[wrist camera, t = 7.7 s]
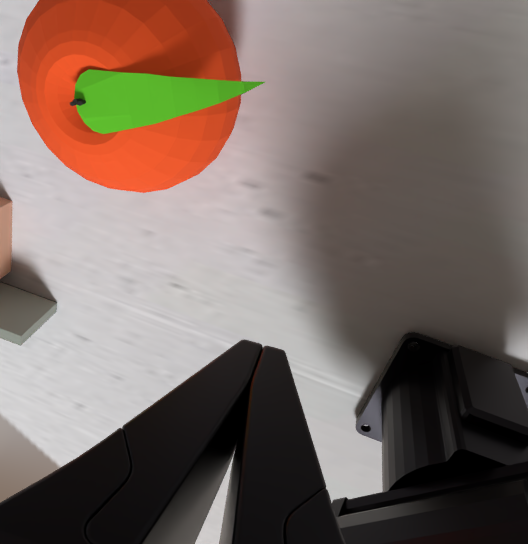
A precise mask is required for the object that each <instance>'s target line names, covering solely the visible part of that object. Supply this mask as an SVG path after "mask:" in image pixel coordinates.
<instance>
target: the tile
mask: <svg viewBox="0 0 528 544" xmlns="http://www.w3.org/2000/svg"><path fill="white" fill-rule="evenodd" d="M11 251H12V201H10V200H8V199H5V198H2V197H0V279H1V278H2V277H4V276H5V275H6V274H8V273H9V272H10V271H11Z"/></svg>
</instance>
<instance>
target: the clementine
mask: <svg viewBox="0 0 528 544" xmlns="http://www.w3.org/2000/svg"><path fill="white" fill-rule="evenodd" d="M17 73H18V78H19V84H20V90H21V95H22V100H23V102H24V105H25V107H26V110H27V112H28V115H29V117H30V119H31V122H32V124H33V126H34V127H35V129H36V130H37V132H38V134H39V135H40V137H41V138H42V140H43V141H44V143H45V144H46V146H47V147H48V148H49V149H50V150H51V151H52V152H53V153H54V154H55V155H56V156H57V157H58V158H59V159H60V160H61V161H62V162H63V163H64V164H65V165H66V166H67V167H68V168H70V169H71V170H73V171H74V172H76V173H77V174H79V175H80V176H82V177H83V178H85V179H86V180H89V181H92V182H94V183H97V184H100V185H102V186H105V187H107V188H112V189H118V190H126V191H135V192H143V193H145V192H151V191H157V190H164V189H168V188H170V187H172V186H175V185H177V184H179V183H181V182H183V181H185V180H187V179H189V178H191V177H193V176H196V175H198V174H199V173H200V172H201V171H203V170H204V169H205V168H206V167H207V166H208V165H209V164H210V163H211V162H212V161H213V160H215V159H216V158H217V156H218V155H219V153H220V151H221V150H222V148H223V146H224V145H225V143H226V141H227V140H228V138H229V136H230V134H231V132H232V130H233V128H234V125H235V121H236V118H237V114H238V110H239V107H240V103H241V94H243V93H245V92H247V91H249V90H251V89H253V88H255V87H257V86H259V85H261V84H263V83H265V82H242V81H241V72H240V67H239V63H238V58H237V53H236V49H235V46H234V43H233V41H232V39H231V37H230V35H229V33H228V31H227V29H226V27H225V25H224V22H223V20H222V19H221V17H220V16H219V15H218V14H217V13H216V11H215V10H214V9H213V8H212V6H211V5H210V4H209V3H208V2H207V0H39V1H38V3H37V4H36V6H35V7H34V9H33V10H32V12H31V13H30V15H29V16H28V18H27V19H26V22H25V25H24V29H23V32H22V35H21V38H20V41H19V46H18V66H17Z"/></svg>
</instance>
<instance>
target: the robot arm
mask: <svg viewBox="0 0 528 544" xmlns="http://www.w3.org/2000/svg"><path fill="white" fill-rule="evenodd" d="M411 342H417V343H418V344H417V345H416V346H410V345H409V343H411ZM527 387H528V373H526V372H523V371H521V370H518V369H515V368H512V366H511V365H510V364H508V363H505V362H503V361H500V360H497V359H494V358H492V357H489V356H486V355H484V354H481V353H478V352H475V351H473V350H470V349H467V348H464V347H462V346H452V345H449V344H447V343H444V342H441V341H438V340H436V339H433V338H430V337H427V336H425V335H422V334H419V333H415V332H411V333H408V334H405V335H404V337H403V338H402V339H401V341H400V343H399V345H398V347H397V348H396V350H395V352H394V354H393V355H392V357H391V359H390V361H389V363H388V364H387V366H386V368H385V370H384V371H383V373H382V375H381V377H380V379H379V380H378V382H377V384H376V386H375V387H374V389H373V391H372V393H371V395H370V396H369V398H368V400H367V402H366V403H365V405H364V407H363V409H362V411H361V412H360V414H359V416H358V418H357V420H356V430H357V431H358V433H360V434H362V435H364V436H367V437H369V438H372V439H375V440H377V441H380V442H382V480H383V492H381V493H376V494H372V495H367V496H362V497H358V498H353V499H347V498H346V497H345V498H340V499H336V500H333V502H332V503H331V500H330V496H329V493H328V490H327V489H326V484H325V481H324V478H323V474H322V471H321V468H320V464H319V461H318V458H317V455H316V451H315V448H314V445H313V441H312V438H311V435H310V432H309V428H308V425H307V422H306V419H305V415H304V412H303V409H302V405H301V402H300V399H299V396H298V392H297V389H296V386H295V383H294V379H293V376H292V373H291V369H290V366H289V363H288V360H287V356H286V353H285V351H284V350H281V349H278V348H274V347H270V346H264V347H262V345H261V344H259V343H256V342H252V341H249V340H241V341H239V342H238V343H237V344H235V345H234V346H233V347H231V348H230V349H228V350H227V351H226V352H224V353H223V354H221V355H220V356H219V357H217V358H216V359H215V360H213V361H212V362H210V363H209V364H208V365H206V366H205V367H204V368H202V369H201V370H199V371H198V372H197V373H195V374H194V375H193V376H191V377H190V378H188V379H187V380H186V381H184V382H183V383H181V384H180V385H179V386H177V387H176V388H175V389H173V390H172V391H170V392H169V393H168V394H166V395H165V396H164V397H162V398H161V399H159V400H158V401H157V402H155V403H154V404H153V405H151V406H150V407H148V408H147V409H146V410H144V411H143V412H141V413H140V414H139V415H137V416H136V417H135V418H133V419H132V420H130V421H129V422H128V423H126V424H125V425H124V426H123V427H122V428H119V429H118V430H116V431H115V432H114V433H112V434H111V435H109V436H108V437H107V438H105V439H104V440H102V441H101V442H100V443H98V444H97V445H95V446H94V447H92V448H91V449H89V450H88V451H86V452H85V453H83V454H82V455H80V456H79V457H77V458H76V459H74V460H72V461H71V462H69V463H67V464H66V465H64V466H63V467H61V468H59V469H58V470H56V471H54V472H53V473H51V474H49V475H48V476H46V477H44V478H43V479H41V480H39V481H37V482H35V483H34V484H32V485H30V486H28V487H27V488H25V489H23V490H21V491H20V492H18V493H16V494H14V495H13V496H11V497H9V498H8V499H6V500H4V501H2V502H1V503H0V544H195V542H196V540H197V537H198V535H199V533H200V530H201V528H202V526H203V524H204V521H205V519H206V517H207V515H208V512H209V510H210V508H211V506H212V503H213V501H214V499H215V497H216V494H217V492H218V490H219V487H220V485H221V483H222V481H223V478H224V476H225V474H226V472H227V469H228V467H229V464H230V462H231V460H232V457H233V454H234V457H233V463H232V468H231V473H230V480H229V486H228V492H227V498H226V504H225V510H224V517H223V523H222V529H221V535H220V541H219V544H528V388H527ZM364 424H366V425H369V426H364ZM234 451H235V453H234Z"/></svg>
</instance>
